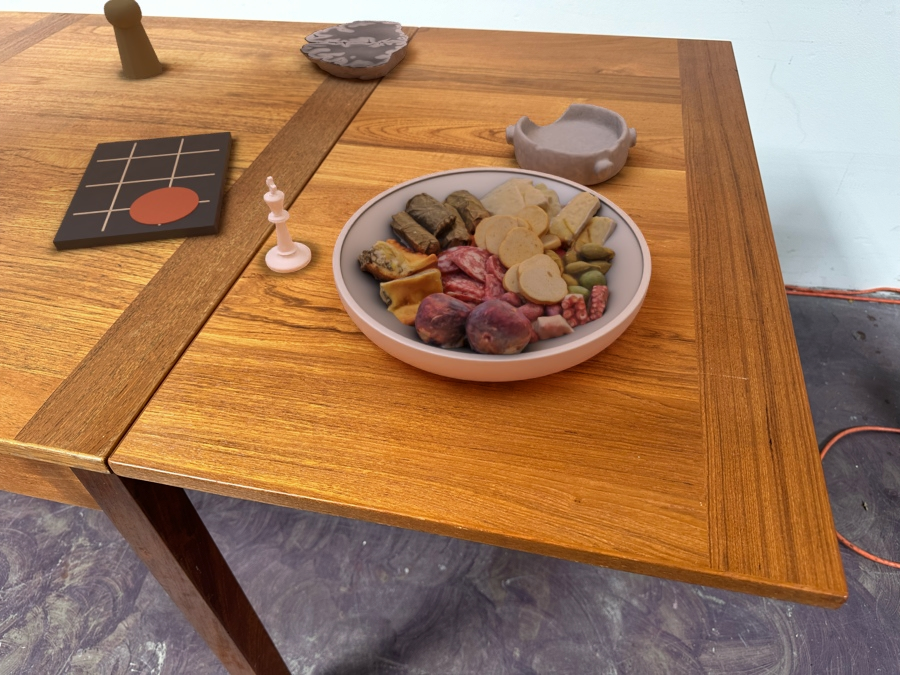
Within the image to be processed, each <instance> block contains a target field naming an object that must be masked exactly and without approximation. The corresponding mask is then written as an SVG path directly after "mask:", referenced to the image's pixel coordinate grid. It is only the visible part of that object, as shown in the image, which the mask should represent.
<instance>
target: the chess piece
mask: <svg viewBox="0 0 900 675" xmlns="http://www.w3.org/2000/svg"><path fill="white" fill-rule="evenodd" d="M265 183H266V185H267V187H268V189H269V190H268V191H267V192H265V194H264V195H263V200H264V203H265V204H266V205H267V206H268V208H269V210H270V211H271V212H269V213H268V215H267V220H268V221H269V222H270V223H272V224H274V225H275V231H276V241H277V245H275V246H273V247H271V248H270V249H269V250H268V251H267V252H266V255H265V259H264V260H265V264H266V266H267V268H269V269H270V270H271V271H273V272H276V273H279V274H281V273H282V274H287V273H289V274H290V273H294V272H297V271H299V270H302V269H304V268H306V266H308V265H309V264H310V262H311V260H312V251H311V249H310V248H309V246H308V245H305V243H301V242H297V241H293V239H292V236H291V233H290V232H289V228H288V226H287V222H286V221H288V220H290V217H291V215H290V213H289V211H288V210H286V209H284V204H285V203H284V202H285V198H286V197H285V195H286V194H285V193H284V192H283V191H282V190H279V189H278V187H277V185H276V184H275V181H274V178H273V176H271V175H269V176H267V177H266V179H265Z"/></svg>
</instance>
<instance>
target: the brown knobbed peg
mask: <svg viewBox="0 0 900 675" xmlns="http://www.w3.org/2000/svg"><path fill="white" fill-rule="evenodd" d="M103 14H104V16H105V19H106V20H107V23H109V24H110V25H111V26H112V28H113V32H114V37H115V42H116V46H117V50H118V54H119V59H120V63H121V68H122V73H123V76H124V78H126V79H129V80H146V79H149V78H153V77H155V76H158V75H159V74H161V73H162V72H163V66H162V64H161V61H160V59H159V57H158V55H157V53H156V51H155V49H154V47H153V44H152V42H151V40H150V38H149V36H148V34H147V32H146V30H145V28H144V25H143V23H142V18H143V12H142V9H141V6H140V5H139V3H138V2H137V1H136V0H107V1H106V2H105V3H104V6H103Z"/></svg>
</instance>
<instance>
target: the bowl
mask: <svg viewBox="0 0 900 675" xmlns="http://www.w3.org/2000/svg"><path fill="white" fill-rule="evenodd" d="M337 236H338V237H337V239H336V241H335V243H334V248H333V251H332V259H331V260H332V274H333V280H334V284H335V288H336V292H337V295H338V297H339V300H340V302H341V304H342V307H343V308H344V310H345V312H346V313H347V315H348V316H349V318H350V319H351V321H352V322H353V324H354V325H355V326H356V328H358V329H359V331H360V332H361V333H363V335H365V336H366V337H367V339H368V340H370V341H371V342H372V343H373V344H374V345H376V346H378V347H379V348H380V349H381V350H382V351H384V352H385V353H387V354H388V355H390V356H392V357H394V358H396V359H397V360H399V361H401V362H403V363H405V364H407V365H409V366H413V367H414V368H417V369H420V370H422V371H425V372H428V373H431V374H436V375H439V376H442V377H447V378H453V379H457V380H463V381H474V382H491V383H493V382H497V383H498V382H515V381H522V380H524V381H525V380H529V379H535V378H540V377H545V376H549V375H553V374H556V373H558V372H562V371H565V370H567V369H570V368H572V367H575V366H577V365H579V364H581V363H583V362H586V361H587V360H589V359H591V358H593V357H594V356H596V355H598V354H599V353H601V352H602V351H604V350H605V349H606V348H608V347H609V346H610V345H611V344H613V343H614V342H615V341H616V340H618V338H620V336H621V335H622V334H623V333H624V332H625V331H627V329H628V327H630V325H631V324H632V323H633V321H634V320H635V318H636V317H637V315H638V313H639V312H640V310H641V308H642V306H643V304H644V301H645V299H646V297H647V293H648V289H649V287H650V282H651V277H652V256H651V252H650V248H649V245H648V242H647V240H646V238H645V236H644V235H643V232H642V230H641V229H640V228H639V226H638V224H636V222H635V221H634V220H633V219H632V217H630V216H629V214H627V213H626V212H625V211H624V210H623V209H622V208H621V207H619V206H618V205H617V204H616V203H615V202H613V201H612V200H610V199H609V198H607V197H605V196H604V195H602V194H601V193H599V192H598V191H595V190H594V189H591V188H589V187H587V186H586V185H581V184H578V183H576V182H573V181H570V180H567V179H564V178H561V177H558V176H554V175H550V174H546V173H542V172H537V171H531V170H525V169H522V168H516V167H506V166H505V167H503V166H474V167H462V168H453V169H448V170H447V169H446V170H442V171H435V172H432V173H428V174H424V175H421V176H418V177H414V178H411V179H408V180H406V181H403V182H400V183H398V184H396V185H393V186H391V187H389V188H387V189H385V190H384V191H382V192H380V193H378V194H377V195H375V196H373V197H372V198H370V199H369V200H368V201H366V202H365V203H364V204H363V205H361V207H359V208H358V209H357V210H356V211H355V212H354V213H353V214H352V215H351V216H350V218H349V219H348V220H347V221H346V223H345V224H344V226H343V227H342V229H341V230H340V232H339V234H338V235H337Z"/></svg>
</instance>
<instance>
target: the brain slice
mask: <svg viewBox="0 0 900 675" xmlns="http://www.w3.org/2000/svg"><path fill="white" fill-rule="evenodd" d="M409 39H410V38H409V36H408V35H407V34H406V33H405V32H404V31H403V25H402V24H401V22H398V21H397V22H396V21H390V20H354V21H352V22H346V23H340V24H336V25H333V26H328V27H326V28H323V29H320V30H316V31H314V32H312V33H311V34H308V35H305V37H304V41H305V42H306V43H305V44H303V45H302V46H301V48H300V49H299V52H301V54H302V55H303V56H304V57H305V58H306V59H307V60H308V61H310V62H312V63H313V64H317V66H318V67H319V68H320V69H321V70H322V71H325V72H327V73H328V74H330V75H332V76H335V77H337V78H342V79H357V78H358V79H359V80H362V81H369V80H373V79H374V80H375V79H380V78H382V77H386V76H387V75H388V74H389V72H390V71H392V70H393V69H394V68H395V67H397V66H398V65H399V63H400V62H401V61H402V60H403V59H404V58H405V56H406V55H407V49H408V44H409Z"/></svg>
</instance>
